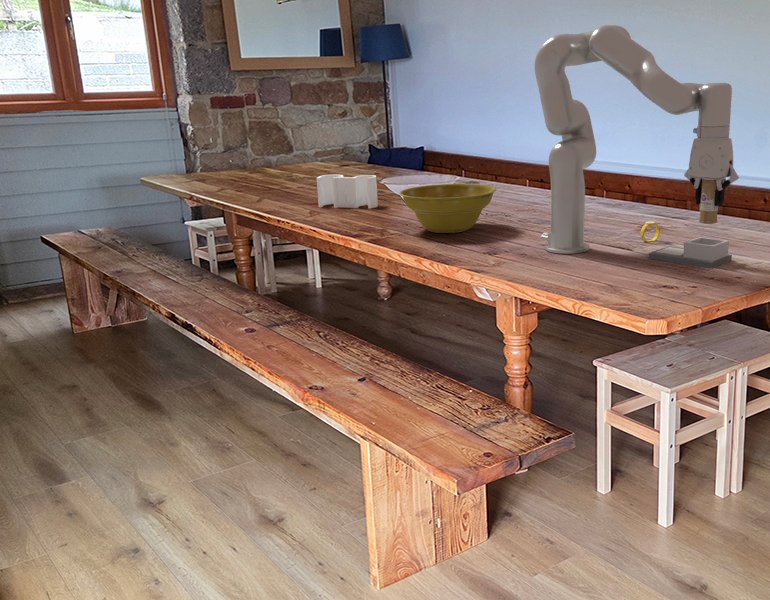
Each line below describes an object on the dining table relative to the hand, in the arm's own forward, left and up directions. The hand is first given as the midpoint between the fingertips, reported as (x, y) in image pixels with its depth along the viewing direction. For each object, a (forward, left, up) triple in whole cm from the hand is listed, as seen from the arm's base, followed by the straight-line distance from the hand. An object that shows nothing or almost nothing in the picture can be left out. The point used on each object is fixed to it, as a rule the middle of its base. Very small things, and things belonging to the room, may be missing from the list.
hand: (709, 203), depth 213 cm
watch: (-25, +13, -16) cm, 32 cm away
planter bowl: (-87, -9, -16) cm, 88 cm away
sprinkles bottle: (0, 0, -5) cm, 5 cm away
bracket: (-153, +3, -16) cm, 154 cm away
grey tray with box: (-5, 0, -16) cm, 16 cm away
